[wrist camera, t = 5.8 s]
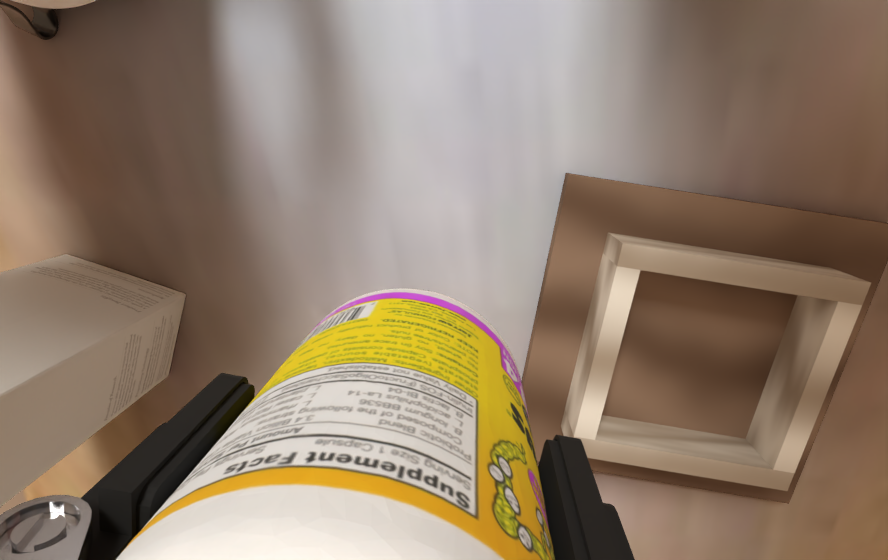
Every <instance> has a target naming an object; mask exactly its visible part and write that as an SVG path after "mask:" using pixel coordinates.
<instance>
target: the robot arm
mask: <svg viewBox="0 0 888 560" xmlns="http://www.w3.org/2000/svg"><path fill="white" fill-rule="evenodd" d="M254 393H255V389H254V386H253V385H249V384H248V380H247V378H246V377H241V376H235V375H230V374H224V373H221V374H220V375H218V376H217V377H216V378H215V379H214V380H213V381H212V382H211V383H210V384H208V385H207V386H206V387H205V388H204V389H203V390H202V391H201V392H200V393H199V394H198V395H197V396H195V397H194V398H193V399H192V400H191V401H190V402H189V403H188V404H187V405H186V406H185V407H184V408H183V409H181V410H180V411H179V412H178V413H177V414H176V415H175V416H174V417H173V418H172V419H171V420H170V421H169V422H167V423H164V424H162V425H161V426H159V427H158V428H157V429H156V430H155V431H154V432H153V433H151V434H150V435H149V436H148V437H147V438H146V439H145V440H144V441H143V442H142V443H141V444H139V445H138V446H137V447H136V448H135V449H134V450H133V451H132V452H131V453H130V454H128V455H127V456H126V457H125V458H124V459H123V460H122V461H121V462H120V463H119V464H118V465H116V466H115V467H114V468H113V469H112V470H111V471H110V472H109V473H108V474H107V475H106V476H104V477H103V478H102V479H101V480H100V481H99V482H98V483H97V484H96V485H95V486H94V487H92V488H91V489H90V490H89V491H88V492H87V493H86V494H85V495H84V496H83V497H82V498H78V497H74V496H69V495H52V496H46V497H41V498H36V499H33V500H30V501H27V502H24V503H21V504H19V505H17V506H15V507H13V508H11V509H9V510H8V511H6V512H4V513H3V514H1V515H0V560H116V559H117V558H118V556H119V555H120V554H121V553H122V552H123V550H124V549H125V548H126V547H127V545H128V544H129V543H130V542H131V540H132V539H133V538H134V537H135V536H136V535H137V534H138V533H139V532H140V531H141V530H142V529H143V527H144V526H145V525H146V524H147V523H148V521H149V520H150V519H151V518H152V517H153V516H154V515H155V513H156V512H157V511H158V510H159V509H160V508H161V507H162V505H163V504H164V503H165V502H166V501H167V499H168V498H169V497H170V496H171V495H172V494H173V493H174V492H175V490H176V489H177V488H178V487H179V486H180V485H181V484H182V482H183V481H184V480H185V479H186V478H187V477H188V475H189V474H190V473H191V472H192V471H193V470H194V468H195V467H196V466H197V465H198V464H199V463H200V462H201V460H202V459H203V458H204V457H205V456H206V455H207V453H208V452H209V451H210V450H211V449H212V448H213V446H214V445H215V444H216V443H217V442H218V441H219V439H220V438H221V437H222V436H223V435H224V433H225V432H226V431H227V430H228V429H229V427H230V426H231V425H232V424H233V423H234V421H235V420H236V419H237V418H238V417H239V415H240V414H241V413H242V412H243V411H244V410H245V408H246V407H247V406H248V405H249V404H250V402H251V401H252V400H253V399H254ZM538 471H539V477H540V482H541V487H542V492H543V497H544V501H545V507H546V515H547V521H548V526H549V532H550V536H551V541H552V545H553V551H554V556H555V560H635V559H634V557H633V554H632V551H631V548H630V546H629V543H628V540H627V538H626V535H625V532H624V529H623V527H622V524H621V521H620V519H619V516H618V513H617V511H616V509H615V507H614V506H613V505H611V504H606V503H603V502H602V499H601V496H600V493H599V490H598V487H597V484H596V481H595V478H594V476H593V473H592V470H591V467H590V464H589V461H588V458H587V455H586V452H585V449H584V446H583V443H582V441H581V439H578V438H573V437H567V436H562V435H555V437H554V439H553V440H548V439H547V440H546V441H545V443H544V446H543V450H542V454H541V458H540V462H539V466H538Z"/></svg>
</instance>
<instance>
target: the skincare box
mask: <svg viewBox="0 0 888 560" xmlns="http://www.w3.org/2000/svg"><path fill="white" fill-rule="evenodd" d="M185 298H186V294H184V293H182V292H179V291H176V290H173V289H170V288H167V287H164V286H161V285H158V284H155V283H152V282H149V281H146V280H143V279H141V278H138V277H135V276H132V275H129V274H126V273H123V272H120V271H117V270H114V269H111V268H108V267H105V266H102V265H99V264H95V263H92V262H89V261H86V260H84V259H81V258H78V257H74V256H71V255H68V254H64V255H61V256H58V257H54V258H50V259H47V260H43V261H40V262H36V263H33V264H30V265H26V266H23V267H19V268H16V269H12V270H8V271H5V272H1V273H0V507H1V506H3V505H4V504H5V503H7V502H8V501H9V500H11V499H12V498H13V497H14V496H15V495H17V494H18V493H19V492H21V491H22V490H23V489H25V488H26V487H27V486H28V485H30V484H31V483H32V482H33V481H35V480H36V479H37V478H39V477H40V476H41V475H42V474H44V473H45V472H46V471H48V470H49V469H50V468H51V467H53V466H54V465H55V464H56V463H58V462H59V461H60V460H62V459H63V458H64V457H65V456H67V455H68V454H69V453H71V452H72V451H73V450H74V449H76V448H77V447H78V446H80V445H81V444H82V443H83V442H85V441H86V440H87V439H88V438H90V437H91V436H92V435H93V434H95V433H96V432H97V431H99V430H100V429H101V428H102V427H104V426H105V425H106V424H108V423H109V422H110V421H111V420H113V419H114V418H115V417H117V416H118V415H119V414H120V413H122V412H123V411H124V410H126V409H127V408H128V407H129V406H131V405H132V404H133V403H134V402H136V401H137V400H138V399H139V398H141V397H142V396H143V395H145V394H146V393H147V392H148V391H150V390H151V389H152V388H153V387H155V386H156V385H157V384H159V383H160V382H161V381H163V380H164V379H165V378H167V377H168V376H169V371H170V367H171V362H172V357H173V353H174V348H175V343H176V339H177V334H178V329H179V325H180V320H181V316H182V311H183V306H184V302H185Z"/></svg>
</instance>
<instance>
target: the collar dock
mask: <svg viewBox="0 0 888 560" xmlns="http://www.w3.org/2000/svg"><path fill="white" fill-rule="evenodd" d="M887 261H888V223H883V222H877V221H870V220H864V219H857V218H851V217H845V216H838V215H832V214H825V213H819V212H813V211H806V210H800V209H793V208H787V207H781V206H774V205H768V204H761V203H755V202H748V201H742V200H736V199H729V198H723V197H716V196H710V195H704V194H697V193H691V192H684V191H678V190H672V189H665V188H659V187H652V186H646V185H640V184H633V183H627V182H620V181H614V180H608V179H601V178H595V177H588V176H582V175H576V174H569V173H566V175H565V179H564V184H563V189H562V193H561V198H560V203H559V208H558V212H557V217H556V222H555V226H554V231H553V236H552V240H551V245H550V250H549V255H548V259H547V264H546V269H545V273H544V278H543V283H542V287H541V292H540V297H539V302H538V306H537V311H536V316H535V320H534V325H533V330H532V334H531V339H530V344H529V349H528V353H527V358H526V363H525V367H524V372H523V377H522V381H521V383H522V387H523V391H524V396H525V401H526V406H527V411H528V416H529V422H530V428H531V432H532V437H533V442H534V448H535V454H536V460H537V461H538V462H540V458H541V454H542V450H543V446H544V443H545V441H546V440H547V439H548V440H553V439H554V437H555V435H562V436H567V437H573V438H578V439H581V441H582V443H583V446H584V449H585V452H586V455H587V458H588V461H589V464H590V467H591V470H592V471H598V472H604V473H610V474H616V475H622V476H628V477H634V478H640V479H645V480H651V481H657V482H663V483H669V484H675V485H681V486H687V487H693V488H699V489H705V490H711V491H717V492H723V493H729V494H735V495H741V496H747V497H753V498H759V499H765V500H771V501H777V502H783V503H789V502H790V499H791V497H792V494H793V492H794V489H795V487H796V484H797V482H798V480H799V477H800V475H801V472H802V470H803V467H804V465H805V462H806V460H807V457H808V455H809V453H810V450H811V448H812V445H813V443H814V440H815V438H816V435H817V433H818V430H819V428H820V426H821V423H822V421H823V418H824V416H825V413H826V411H827V408H828V406H829V403H830V401H831V399H832V396H833V394H834V391H835V389H836V386H837V384H838V381H839V379H840V376H841V374H842V372H843V369H844V367H845V364H846V362H847V359H848V357H849V354H850V352H851V349H852V347H853V345H854V342H855V340H856V337H857V335H858V332H859V330H860V327H861V325H862V322H863V320H864V318H865V315H866V313H867V310H868V308H869V305H870V303H871V300H872V298H873V295H874V293H875V291H876V288H877V286H878V283H879V281H880V278H881V276H882V273H883V271H884V268H885V266H886V264H887Z"/></svg>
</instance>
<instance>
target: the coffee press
mask: <svg viewBox="0 0 888 560" xmlns="http://www.w3.org/2000/svg"><path fill="white" fill-rule="evenodd" d="M11 1H14V2H18V3H22V4H26V5H30V6H32V8H33V11H34V18H33V21H32V22H30V20H29V19H28V18H27V17H26V15H25V14H24V13H23V12H22V11H21V10H19V9H18V8H16V7H14V6H12V5H10V4H8V3H6V2H3V1H1V0H0V7H1V8H2V9H3V10H4V12H5V13H6V14H7V16H8V17H9V18H10V20H11V21H12V22H13V24H14V25H15V26H16V27H18V28H20V29H22V30H24V31H26V32H28V33H31V34H33V35H35V36H37V37H39V38H41V39H44V40H48V39H51V38H53V37H54V36H55V34H56V33H57V31H58V25H59V24H58V19H57V16H56V14H55V11H54V9H63V8H72V7H78V6H82V5H86V4H89V3H91V2H94V1H96V0H11Z"/></svg>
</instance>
